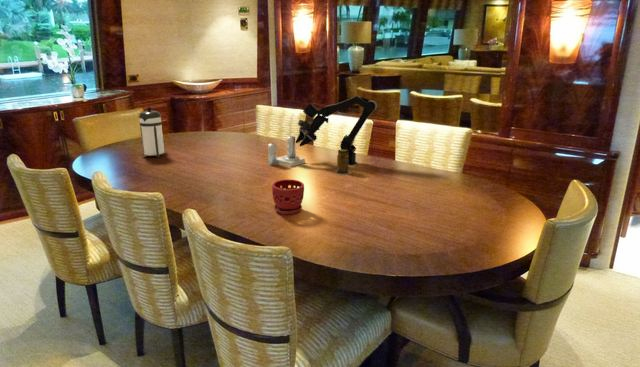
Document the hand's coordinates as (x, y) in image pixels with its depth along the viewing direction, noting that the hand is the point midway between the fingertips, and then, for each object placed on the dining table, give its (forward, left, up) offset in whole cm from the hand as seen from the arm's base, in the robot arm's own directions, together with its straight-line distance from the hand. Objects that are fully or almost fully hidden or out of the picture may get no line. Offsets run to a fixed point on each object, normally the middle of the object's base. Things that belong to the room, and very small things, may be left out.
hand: (297, 144), depth 265 cm
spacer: (+9, +12, -11) cm, 18 cm away
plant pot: (-48, +60, -11) cm, 78 cm away
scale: (+5, +3, -11) cm, 12 cm away
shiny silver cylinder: (+2, +3, -8) cm, 8 cm away
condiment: (-31, -1, -11) cm, 33 cm away
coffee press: (+81, +42, -11) cm, 92 cm away
